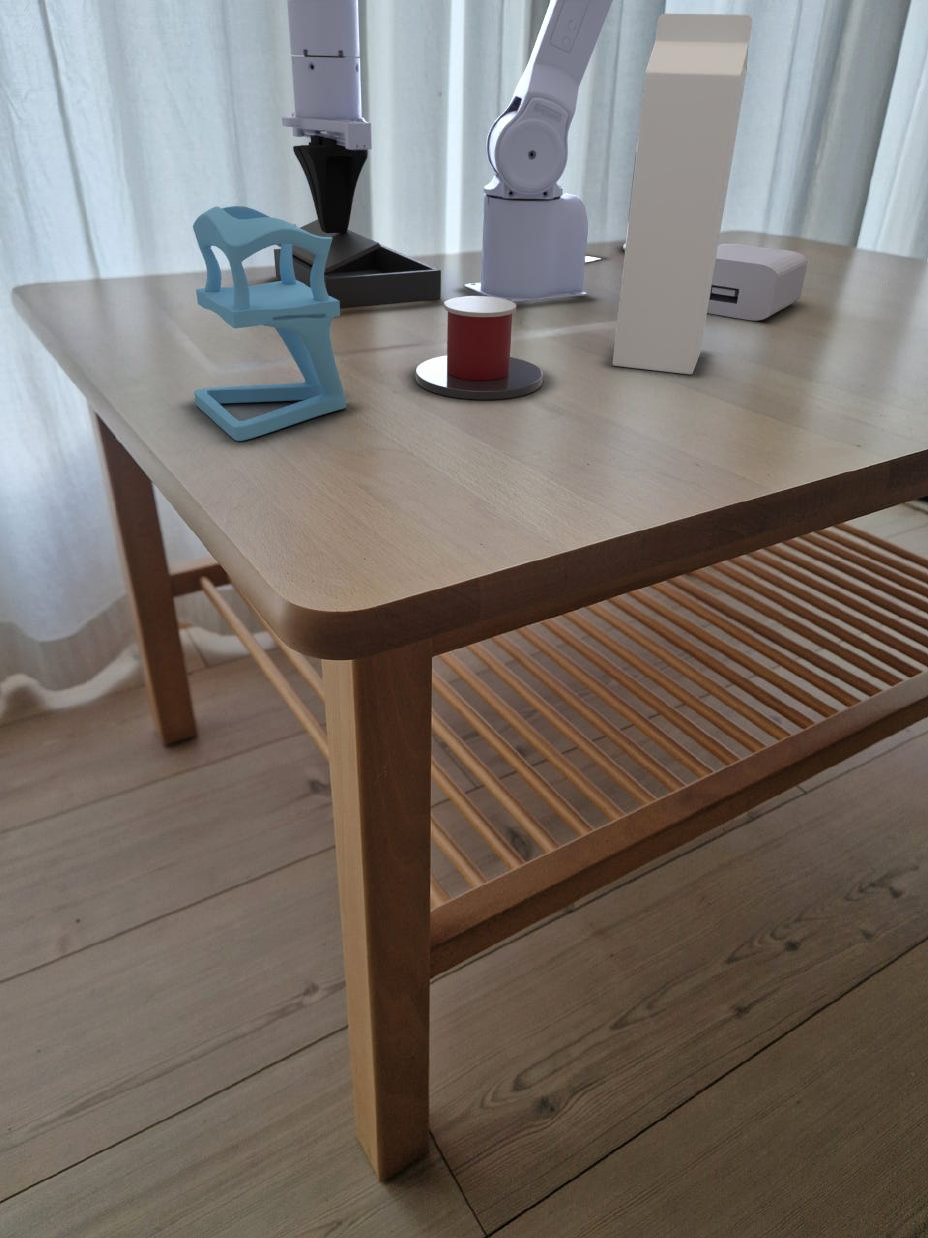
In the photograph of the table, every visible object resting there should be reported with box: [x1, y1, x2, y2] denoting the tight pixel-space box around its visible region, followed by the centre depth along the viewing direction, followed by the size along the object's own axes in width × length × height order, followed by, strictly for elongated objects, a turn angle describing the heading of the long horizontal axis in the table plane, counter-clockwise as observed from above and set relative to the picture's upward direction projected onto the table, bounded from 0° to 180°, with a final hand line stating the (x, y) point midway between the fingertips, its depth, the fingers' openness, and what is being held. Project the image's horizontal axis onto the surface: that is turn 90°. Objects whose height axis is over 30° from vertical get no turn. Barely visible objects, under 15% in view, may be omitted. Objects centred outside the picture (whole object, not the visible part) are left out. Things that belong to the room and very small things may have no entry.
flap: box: [276, 218, 381, 273], centre depth 82 cm, size 5×15×1 cm, turn 28°
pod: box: [443, 295, 517, 381], centre depth 61 cm, size 5×5×5 cm
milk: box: [612, 13, 753, 375], centre depth 63 cm, size 6×6×22 cm
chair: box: [192, 205, 347, 442], centre depth 53 cm, size 8×8×12 cm
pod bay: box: [273, 243, 442, 310], centre depth 85 cm, size 11×15×3 cm
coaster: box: [415, 354, 544, 401], centre depth 63 cm, size 9×9×1 cm
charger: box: [707, 242, 809, 322], centre depth 85 cm, size 5×9×15 cm
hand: (334, 231), depth 82 cm, fingers closed
